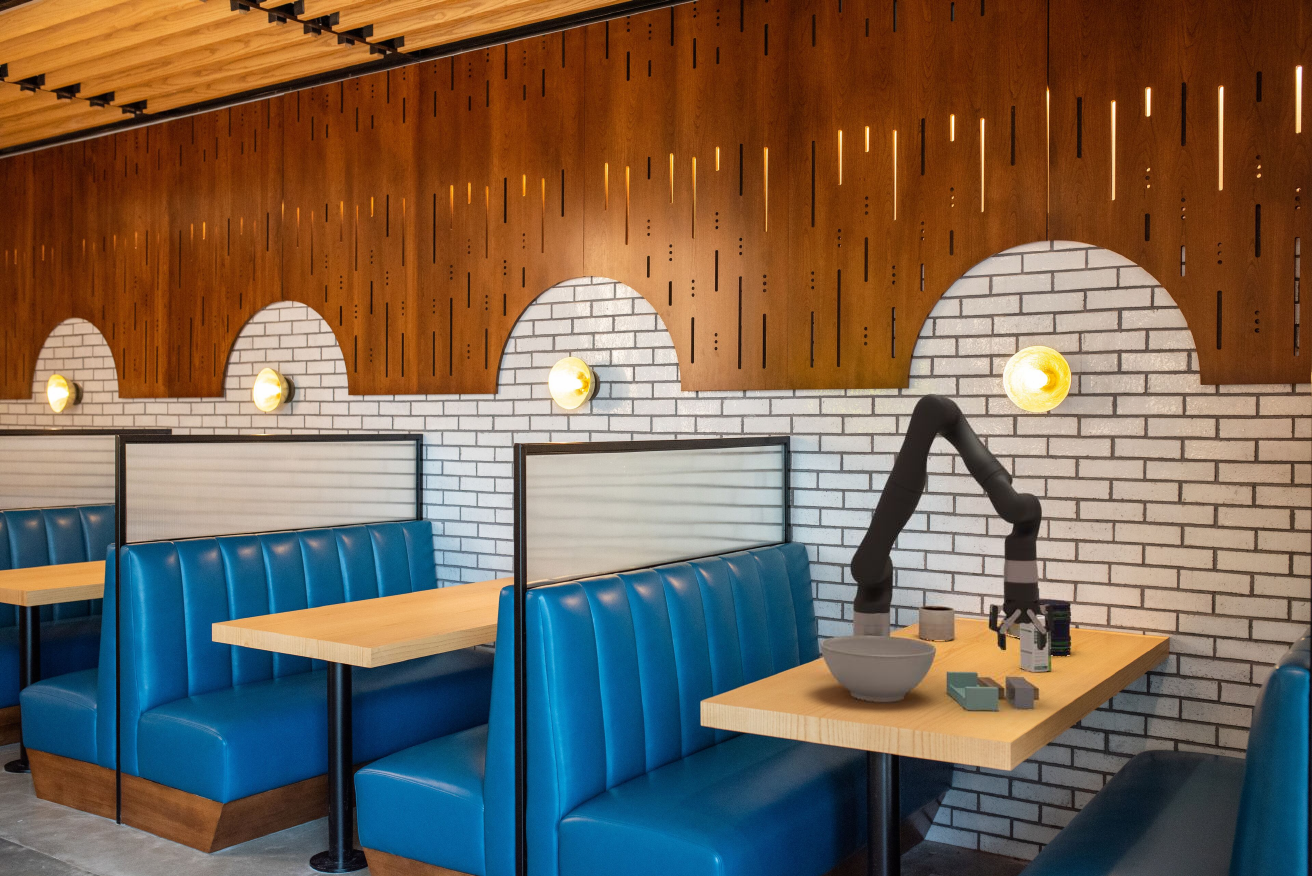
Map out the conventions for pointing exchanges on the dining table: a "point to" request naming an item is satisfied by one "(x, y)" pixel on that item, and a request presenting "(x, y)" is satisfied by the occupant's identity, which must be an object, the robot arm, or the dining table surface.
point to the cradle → (971, 691)
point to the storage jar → (1059, 627)
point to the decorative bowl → (878, 665)
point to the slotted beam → (1001, 690)
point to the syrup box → (1034, 648)
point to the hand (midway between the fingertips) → (1021, 649)
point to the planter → (936, 623)
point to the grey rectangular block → (1019, 693)
